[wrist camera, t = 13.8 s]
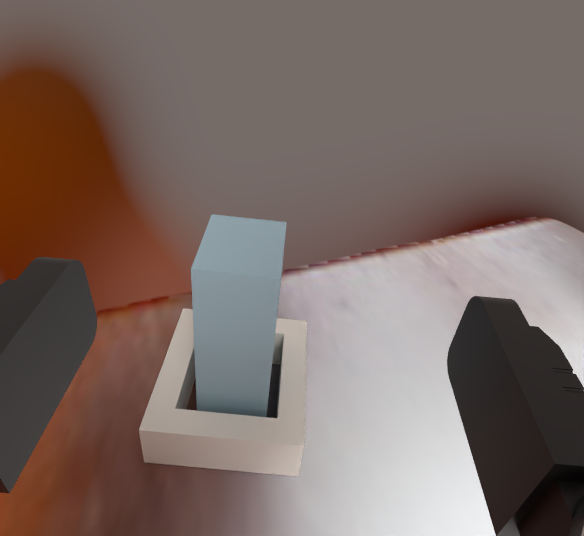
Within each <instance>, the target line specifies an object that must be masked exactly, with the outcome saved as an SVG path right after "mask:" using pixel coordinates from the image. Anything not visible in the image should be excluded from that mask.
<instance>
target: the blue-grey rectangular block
mask: <svg viewBox="0 0 584 536" xmlns="http://www.w3.org/2000/svg"><path fill="white" fill-rule="evenodd" d="M285 233H286V222H278V221H269V220H259V219H250V218H241V217H231V216H221V215H211V218H210V221H209V223H208V226H207V228H206V231H205V234H204V236H203V239H202V242H201V244H200V247H199V250H198V252H197V255H196V258H195V260H194V263H193V265H192V268H191V278H192V304H193V328H194V353H195V377H196V402H197V411H206V412H216V413H227V414H237V415H247V416H258V417H266V416H267V407H268V397H269V388H270V378H271V369H272V360H273V350H274V341H275V332H276V322H277V313H278V304H279V294H280V285H281V275H282V263H283V254H284V243H285Z"/></svg>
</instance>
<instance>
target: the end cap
mask: <svg viewBox="0 0 584 536" xmlns="http://www.w3.org/2000/svg"><path fill="white" fill-rule="evenodd" d="M306 335H307V321H302V320H292V319H282V318H277V322H276V332H275V341H274V350H273V360H272V364H280V375H279V388H278V400H277V413H276V418H268V417H258V416H247V415H237V414H227V413H216V412H206V411H195V410H187V406H188V403H189V399H190V395H191V392H192V388H193V385H194V381H195V353H194V328H193V309H184V308H183V310H182V313H181V316H180V319H179V321H178V324H177V327H176V330H175V332H174V335H173V338H172V340H171V343H170V346H169V349H168V351H167V354H166V357H165V360H164V362H163V365H162V368H161V370H160V373H159V376H158V379H157V381H156V384H155V387H154V390H153V392H152V395H151V398H150V401H149V403H148V406H147V409H146V411H145V414H144V417H143V420H142V422H141V425H140V428H139V435H140V441H141V447H142V453H143V459H144V462H146V463H157V464H167V465H178V466H189V467H200V468H210V469H221V470H232V471H243V472H253V473H264V474H275V475H286V476H297V477H298V475H299V470H300V465H301V460H302V455H303V450H304V440H305V387H306Z"/></svg>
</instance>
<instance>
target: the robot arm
mask: <svg viewBox="0 0 584 536" xmlns="http://www.w3.org/2000/svg"><path fill="white" fill-rule="evenodd" d="M96 328H97V316H96V312H95V308H94V304H93V300H92V296H91V293H90V289H89V285H88V281H87V277H86V273H85V270H84V267H83V265H82V263H81V262H80V261H78V260H69V259H59V258H47V257H38V258H36V259H34V260H33V261H32V262H31V263H30V265H29V266H28V267H27V268H26V269H25V270H24V272H23V273H22V274H21V275H20V276H19V277H18V278H17V279H16V280H10V279H9V280H7V281H6V282H4V283H2V284H1V285H0V492H1V493H10V492H11V490H12V488H13V486H14V485H15V483H16V481H17V479H18V477H19V475H20V474H21V472H22V470H23V468H24V466H25V465H26V463H27V461H28V459H29V457H30V456H31V454H32V452H33V450H34V448H35V446H36V445H37V443H38V441H39V439H40V437H41V436H42V434H43V432H44V430H45V428H46V427H47V425H48V423H49V421H50V419H51V418H52V416H53V414H54V412H55V410H56V408H57V407H58V405H59V403H60V401H61V399H62V398H63V396H64V394H65V392H66V390H67V389H68V387H69V385H70V383H71V381H72V379H73V378H74V376H75V374H76V372H77V370H78V369H79V367H80V365H81V363H82V361H83V360H84V358H85V356H86V354H87V352H88V351H89V349H90V347H91V345H92V343H93V340H94V337H95V334H96ZM447 367H448V375H449V379H450V382H451V385H452V389H453V392H454V396H455V399H456V402H457V406H458V409H459V412H460V416H461V419H462V422H463V426H464V429H465V433H466V436H467V439H468V443H469V446H470V449H471V453H472V456H473V460H474V463H475V466H476V470H477V473H478V476H479V480H480V483H481V486H482V490H483V493H484V497H485V500H486V503H487V507H488V510H489V513H490V517H491V520H492V524H493V527H494V530H495V534H496V536H584V387H583V386H582V384H581V382H580V381H579V379H578V377H577V375H576V374H573V369H572V367H571V365H570V364H569V362H568V360H567V358H566V357H565V355H564V353H563V352H562V350H561V348H560V347H559V346H558V345H557V344H556V343H555V342H554V341H553V340H552V339H551V338H550V337H549V336H547V335H546V334H545V333H544V332H543V331H542V330H541V329H540V328H539V327H535V326H529V324H528V322H527V321H526V319H525V317H524V315H523V313H522V311H521V309H520V308H519V306H518V304H517V303H516V302H515V301H514V300H512V299H503V298H491V297H480V296H474V297H472V298H471V299H470V301H469V302H468V304H467V307H466V309H465V311H464V314H463V316H462V319H461V321H460V323H459V326H458V328H457V331H456V333H455V335H454V338H453V340H452V343H451V345H450V348H449V352H448V359H447Z"/></svg>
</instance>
